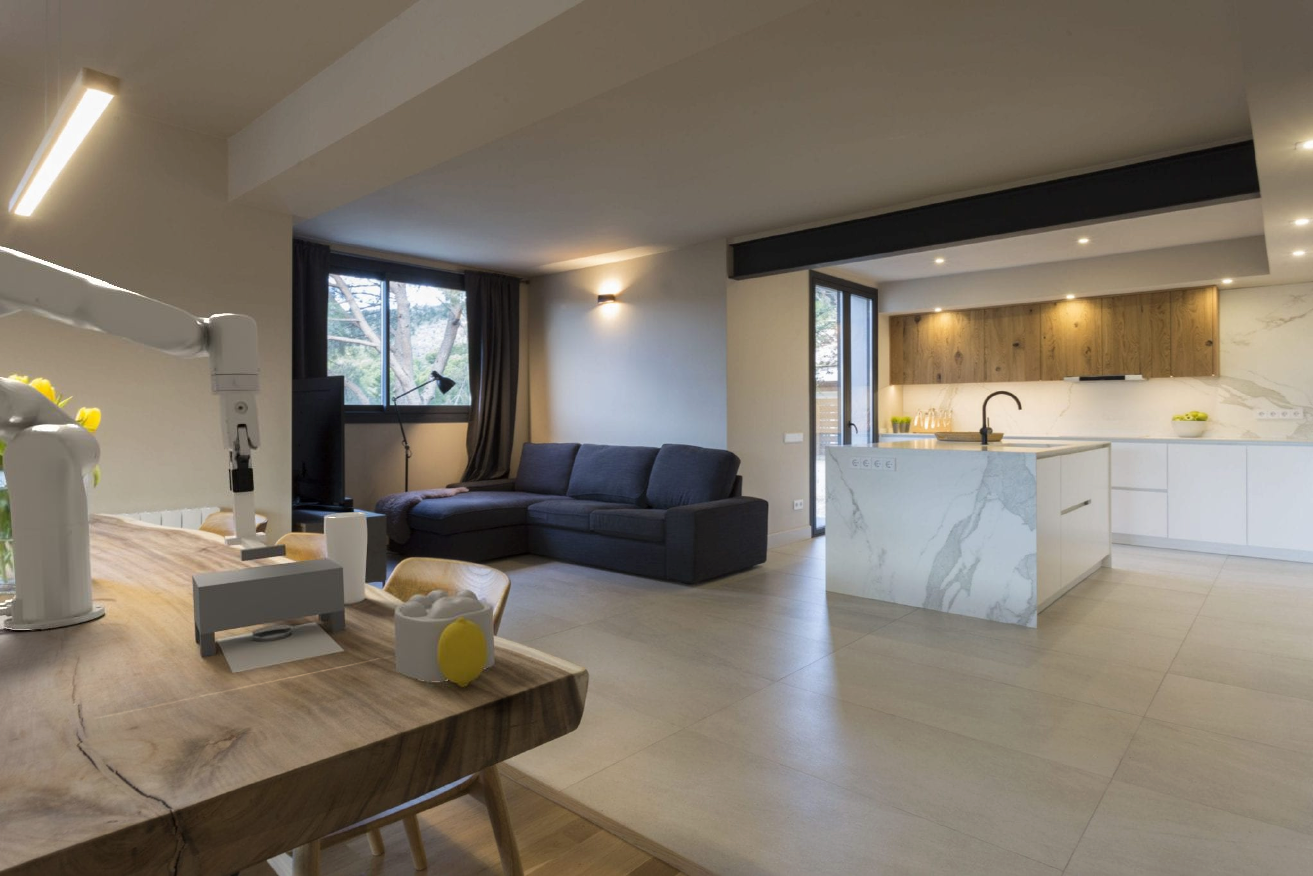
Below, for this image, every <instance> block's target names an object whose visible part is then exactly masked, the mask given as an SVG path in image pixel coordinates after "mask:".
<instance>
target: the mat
mask: <svg viewBox="0 0 1313 876" xmlns="http://www.w3.org/2000/svg"><path fill="white" fill-rule="evenodd" d="M290 626H291V628H292V635H291V636H289V637H287V638H284V639H280V640H276V641H269V642H256V641H253V638H252V632H251V633H246V634H241V635H233V636H227V637H223V638H217V639H216V640H217V643H218V645H219V647H220V650H221V651H222V653H223V656H224V658H225V660H226V662H227V664H228V666H229V668H230V671H231V673H232V674H237V673H240V672H246V671H251V670H256V669H261V668H266V667H270V666H277V665H281V664H285V663H286V664H287V663H291V662H297V661H301V660H302V661H303V660H307V659H312V658H317V657H321V656H325V655H332V654H335V653H336V654H337V653H342V652H345V650H344V649H343V648H342V647H341V646H340V644H338V642H336V641H335V640H334V639H333V638H332V637H331V636H330V635H329V634H328V633H327V632H326V631H325V630H324V629H323V628H322V627H321V626H320V625H319V624H318V623H317V622H307V623H304V624H298V625H290Z"/></svg>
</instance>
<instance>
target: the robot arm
mask: <svg viewBox="0 0 1313 876" xmlns="http://www.w3.org/2000/svg"><path fill="white" fill-rule="evenodd" d="M22 311H25V312H27V313H31V314H33V315H36V316H40V317H43V318H47V319H49V320H52V321H55V322H58V323H62V324H65V325H67V326H71V327H74V328H76V329H80V330H87V331H88V330H89V331H96V332H99V333H100V332H101V333H102V334H103V333H104V334H108V335H111V336H113V337H117V338H120V339H124V340H126V341H130V342H133V343H135V344H139V345H142V346H145V347H148V348H151V349H154V350H156V351H159V352H162V353H164V354H168V355H170V356H172V357H175V358H176V359H183V360H185V359H187V360H188V359H199V358H206V357H208V361H209V362H208V363H209V378H210V395H211V396H218V397H219V417H220V429H221V439H222V446H223V449H224V450H226V451H227V452H228V462H229V466H230V462H233V470H230V468H228V478H229V490H230V492H232V489H233V492H234V493H239V492H251V491H253V490H255V485H254V484H255V483H254V469H253V461H252V451H259V450H260V448H261V446H262V445H261V434H260V425H259V424H260V423H259V413H258V405H257V399H256V395H261V394H262V393H261V378H260V361H259V355H260V354H259V344H258V343H259V342H258V341H259V338H258V327H257V322H256V320H255V319H254V318H253V317H252V316H249V315H245V314H239V313H238V314H237V313H236V314H235V313H222V314H221V313H219V314H213V315H211V316H210V317H209V318H207V317H198V316H195V315H193V314H192V313H190V312H188V311H186V310H184V309H181V308H179V307H176V306H173V305H171V304H167V303H164V302H162V301H159V300H156V299H154V298H150V297H147V296H145V295H142V294H139V293H136V292H132V291H130V290H126V289H124V288H120V287H117V286H114V285H112V284H109V283H108V282H106V281H102V280H101V279H97V278H94V277H91V276H89V275H85V274H83V273H79V272H76V271H73V270H72V269H68V268H64V267H62V266H59V265H57V264H53V263H51V262H48V261H44V260H42V259H39V258H36V257H34V256H31V255H28V254H25V253H23V252H20V251H16V250H14V249H10V248H7V247H3V246H0V318H3V317H7V316H9V315H13V314H16V313H19V312H22ZM0 440H1V441H2V442H3V443H4V444H5V448H4V451H3V454H2V468H3V473H4V479H5V483H6V488H7V493H8V499H9V500H8V501H9V507H10V508H9V510H10V521H11V534H12V552H13V555H12V556H13V569H14V570H13V571H14V572H13V573H14V588H15V589H14V591H15V594H14V596H13V597H12V599H6V600H5V601H4V602H1V603H0V617H1V616H6V617H7V618H6V619H4V620H3V627H4V626H5V627H7V628H12V629H41V630H47V629H48V630H49V628H50V629H55V628H61V627H62V628H63V627H67V626H72V625H77V624H81V623H84V622H88V621H92V620H94V619H97V618H99V617H101V616H103V615H105V612H106V608H105V606H104V605H103V604H101V603H100V604H99V603H93V583H92V567H91V566H92V564H91V563H92V562H91V545H90V543H91V542H90V525H89V524H90V522H89V521H90V520H89V511H88V510H89V508H88V500H87V493H86V489H85V481H84V478H83V477H85V476H86V475H88V474H90V473H91V472H92V471H93V470H95V468H96V467H97V465H98V464H99V462H100V459H101V448H100V447H101V446H100V444H99V441H98V440H97V438H96V437H95V436H94V435H93V433H91V432H90V431H89V429H87V428H86V427H85V426H83V425H82V424H81V423H80V422H78V421H77V420H76V419H75V418H73V417H72V416H71V415H70V414H68V412H66V411H65V410H63V409H62V408H61V407H60V406H59V405H57V404H56V403H55V402H54V401H53V400H51V399H50V398H49V397H47V396H46V395H45V394H43V393H42V392H41V391H39V390H38V389H37V388H35V387H34V386H32V385H30V384H27V383H25V382H23V381H20V380H16V379H12V378H6V377H2V376H0ZM251 450H252V451H251ZM231 472H232V487H231Z"/></svg>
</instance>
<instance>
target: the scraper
mask: <svg viewBox="0 0 1313 876" xmlns="http://www.w3.org/2000/svg"><path fill="white" fill-rule="evenodd" d="M229 469H230V470H233V462H230V465H229ZM231 487H232V472H231ZM254 490H255V489H254ZM254 490H253V491H251V492H239V493H234V492H233V489H232V491H231V503H232V519H233V521H232V522H233V535H224V537H223V539H224V545H226V547H229V546H230V547H231V546H238V545H239V546H240V545H241V546H242V548H243V549H240V550H239V552H240V553H239V554H240V561H241V562H245V561H253V560H261V559H268V558H277V557H284V556H286V555H287V552H286V551H287V550H286V549H287V548H286V544H284V543H283V544H276V545H275V544H274V545H268V546H267V545H266V544H265V542H267V534H266V533H265V532H264V531H261V532H260V531H259V532H257V527H256V525H257V524H256V511H255V510H256V509H255V496H254V495H255V493H254ZM263 542H264V543H263Z"/></svg>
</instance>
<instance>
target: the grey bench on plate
mask: <svg viewBox="0 0 1313 876" xmlns="http://www.w3.org/2000/svg"><path fill="white" fill-rule="evenodd" d="M192 597H193V598H192V600H193V602H192V603H193V619H194V621H193V622H194V640H195V643H199V649H200V651H199V652H200V656H201V658H206V657H211V656H216V634H215V633H217V632H223V631H224V632H225V631H228V630H234V629H236V630H237V629H241V628H247V627H253V626H259V625H264V624H271V623H276V622H283V621H289V620H293V619H294V620H295V619H300V618H306V617H311V616H318V620H319V621H321V622H323V621H329V620H330V629H331V632H332V634H335V633H336V634H337V633H340V632H346V614H345V613H346V612H345V604H344V583H343V567H341V566H340V565H338V564H336V563H335V562H333V561H331V560H330V559H328V558H327V557H325V558H317V559H308V560H300V561H295V562H294V561H292V562H286V563H278V564H277V563H276V564H269V565H262V566H261V565H260V566H254V567H247V568H237V569H230V570H222V571H214V572H206V573H198V574H192Z"/></svg>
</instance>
